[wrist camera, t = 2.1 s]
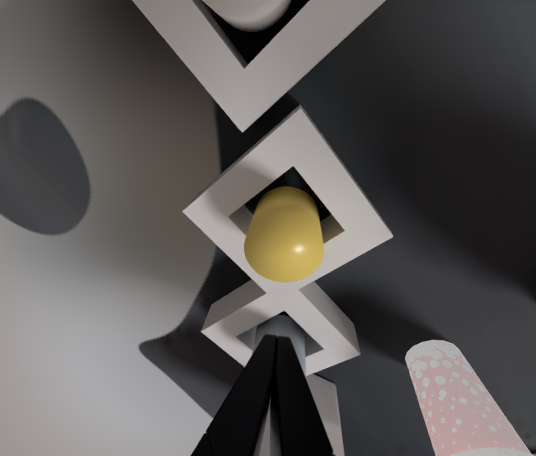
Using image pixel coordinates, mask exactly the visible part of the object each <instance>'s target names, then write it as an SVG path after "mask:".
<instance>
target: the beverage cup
mask: <svg viewBox="0 0 536 456" xmlns="http://www.w3.org/2000/svg"><path fill="white" fill-rule="evenodd" d="M405 360H406V363H407V366H408V369H409V372H410V376H411V379H412V382H413V385H414V388H415V391H416V395H417V398H418V401H419V404H420V407H421V410H422V414H423V417H424V420H425V423H426V426H427V429H428V433H429V436H430V439H431V442H432V445H433V449H434V452H435V455H436V456H534V455H532V454H531V453H530V452H529V450H528V449H527V447H526V446H525V444H524V443H523V441H522V440H521V439H520V437H519V436H518V434H517V433H516V431H515V430H514V428H513V427H512V426H511V424H510V423H509V421H508V420H507V418H506V417H505V415H504V414H503V413H502V411H501V410H500V408H499V407H498V405H497V404H496V402H495V401H494V400H493V398H492V397H491V395H490V394H489V392H488V391H487V389H486V388H485V387H484V385H483V384H482V382H481V381H480V379H479V378H478V376H477V375H476V374H475V372H474V371H473V369H472V368H471V366H470V365H469V363H468V362H467V361H466V359H465V358H464V356H463V355H462V353H461V352H460V350H459V349H458V348H457V347H456V346H455V345H454V344H452V343H449V342H447V341H444V340H430V341H425V342H421V343H419V344H417V345H415V346H413V347H412V348H411V349H410V350H409V351H408V352H407V354H406V357H405Z"/></svg>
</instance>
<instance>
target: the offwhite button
mask: <svg viewBox="0 0 536 456" xmlns="http://www.w3.org/2000/svg"><path fill="white" fill-rule="evenodd" d="M202 1H203V2H205V3H206V4H207V5H208V6H209V7H210V8H211V9H213V10H214V11H215V12H216V13H217V14H218V15H219V16H221V17H222V18H223V19H224V20H225V21H226V22H228V23H229V24H230V25H232V26H233V27H235V28H237V29H239V30H242V31H246V32H258V31H262V30H265V29H267V28H269V27H271V26H272V25H274V24H275V23H276V22H278V21H279V20H280V19H281V18H282V16H283V15H284V14H285V12H286V11H287V9H288V8H289V6H290V4H291V2H292V0H202Z"/></svg>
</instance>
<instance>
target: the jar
mask: <svg viewBox="0 0 536 456" xmlns="http://www.w3.org/2000/svg"><path fill="white" fill-rule="evenodd" d="M306 380H307V382H308V385H309V388H310V390H311V393H312V396H313V398H314V401H315V403H316V406H317V409H318V411H319V414H320V417H321V419H322V422H323V424H324V427H325V430H326V432H327V435H328V438H329V440H330V443H331V445H332V448H333V451H334V452H333V454H335V456H344V449H343V441H342V433H341V425H340V417H339V408H338V400H337V392H336V386H335V384H334V383H332V382H330V381H327V380H325V379H323V378H321V377H319V376H317V375H315V374H313V373H312V374H310V375H307V376H306ZM270 399H271V398H270ZM259 456H270V405H269V411H268V416H267V421H266V426H265V431H264V435H263V440H262V445H261V449H260V454H259Z"/></svg>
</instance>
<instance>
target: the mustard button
mask: <svg viewBox="0 0 536 456" xmlns="http://www.w3.org/2000/svg"><path fill="white" fill-rule="evenodd" d="M244 253H245V257H246V260H247V262H248V263H249V265H250V266H251V268H252V269H253V270H254V271H255V272H256V273H258V274H259V275H261V276H262V277H264V278H266V279H269V280H272V281H275V282H283V283H288V282H295V281H299V280H302V279H304V278H306V277H308V276H310V275H311V274H312V273H313V272H315V271H316V269H317V268H318V267H319V265H320V264H321V262H322V259H323V255H324V245H323V239H322V232H321V226H320V219H319V213H318V208H317V205H316V203H315V201H314V200H313V198H312V197H311V196H310V195H309V194H307V193H306V192H305V191H303V190H301V189H299V188H295V187H290V186H284V187H277V188H274V189H272V190H270V191H268V192H267V193H266V194H264V195H263V196H262V198H261V199H260V200H259V202H258V204H257V206H256V209H255V212H254V215H253V218H252V221H251V224H250V227H249V230H248V232H247V235H246V238H245V242H244Z"/></svg>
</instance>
